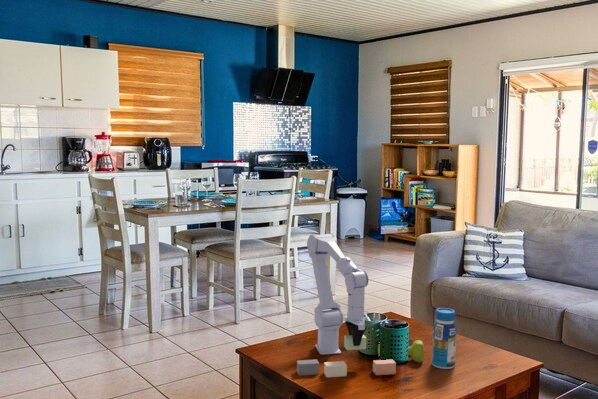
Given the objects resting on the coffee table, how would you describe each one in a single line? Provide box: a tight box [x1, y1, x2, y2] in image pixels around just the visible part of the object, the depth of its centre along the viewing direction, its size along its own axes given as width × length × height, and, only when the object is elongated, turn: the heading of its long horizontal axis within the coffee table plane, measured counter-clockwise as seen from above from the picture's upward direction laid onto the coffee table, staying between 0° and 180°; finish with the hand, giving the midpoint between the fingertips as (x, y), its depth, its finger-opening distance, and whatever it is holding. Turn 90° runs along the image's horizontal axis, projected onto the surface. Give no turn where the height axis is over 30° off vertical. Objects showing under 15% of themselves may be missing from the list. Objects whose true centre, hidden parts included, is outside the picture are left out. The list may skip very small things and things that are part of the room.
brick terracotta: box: [372, 359, 397, 376], centre depth 202 cm, size 4×7×4 cm, turn 101°
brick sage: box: [343, 334, 368, 351], centre depth 206 cm, size 4×7×4 cm, turn 102°
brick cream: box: [323, 360, 348, 378], centre depth 200 cm, size 4×7×4 cm, turn 101°
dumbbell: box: [377, 339, 425, 363], centre depth 215 cm, size 16×8×7 cm, turn 81°
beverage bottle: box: [431, 307, 458, 370], centre depth 209 cm, size 8×8×20 cm
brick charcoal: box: [296, 358, 320, 376], centre depth 201 cm, size 4×7×4 cm, turn 101°
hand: (355, 343), depth 206 cm, fingers closed on brick sage, 3 cm apart
